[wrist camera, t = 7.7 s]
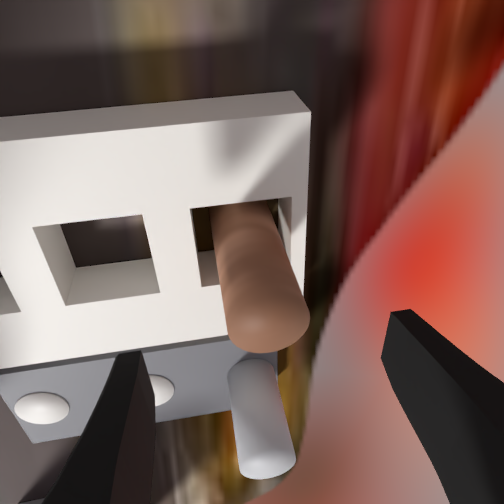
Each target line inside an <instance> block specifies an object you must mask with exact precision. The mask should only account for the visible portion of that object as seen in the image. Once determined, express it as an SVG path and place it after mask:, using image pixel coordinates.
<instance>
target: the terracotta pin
mask: <svg viewBox="0 0 504 504" xmlns="http://www.w3.org/2000/svg"><path fill="white" fill-rule="evenodd" d="M209 217H210V224H211V230H212V236H213V243H214V249H215V256H216V262H217V268H218V275H219V281H220V288H221V294H222V300H223V307H224V313H225V320H226V326H227V332H228V336H229V338H230V340H231V341H232V342H233V344H234V345H236V346H237V347H239V348H240V349H242V350H245V351H248V352H252V353H270V352H275V351H278V350H281V349H284V348H286V347H288V346H290V345H292V344H293V343H295V342H296V341H297V340H298V339H299V338H300V337H301V336H302V335H303V334H304V333H305V331H306V330H307V328H308V325H309V321H310V314H309V310H308V307H307V305H306V302H305V300H304V297H303V295H302V292H301V289H300V287H299V284H298V282H297V279H296V276H295V274H294V271H293V269H292V266H291V264H290V261H289V258H288V256H287V253H286V251H285V248H284V246H283V243H282V240H281V238H280V235H279V233H278V230H277V228H276V225H275V222H274V220H273V217H272V215H271V212H270V209H269V207H268V204H267V202H266V200H258V201H250V202H241V203H233V204H224V205H216V206H210V207H209Z"/></svg>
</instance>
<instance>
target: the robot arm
mask: <svg viewBox="0 0 504 504" xmlns="http://www.w3.org/2000/svg"><path fill="white" fill-rule="evenodd" d="M381 359H382V362H383V365H384V367H385V370H386V373H387V376H388V378H389V380H390V383H391V386H392V388H393V390H394V392H395V394H396V396H397V398H398V400H399V402H400V404H401V406H402V408H403V410H404V412H405V413H406V415H407V417H408V419H409V421H410V423H411V425H412V427H413V428H414V430H415V432H416V434H417V436H418V438H419V440H420V441H421V443H422V445H423V447H424V449H425V451H426V453H427V455H428V456H429V458H430V460H431V462H432V464H433V466H434V468H435V470H436V472H437V474H438V476H439V479H440V481H441V483H442V486H443V488H444V490H445V493H446V495H447V498H448V500H449V502H450V504H504V383H503V382H502V381H500V380H499V379H498V378H496V377H495V376H493V375H492V374H491V373H489V372H488V371H487V370H485V369H484V368H482V367H481V366H480V365H478V364H477V363H476V362H475V361H474V360H472V359H471V358H469V357H468V356H467V355H466V354H465V353H463V352H462V351H461V350H460V349H458V348H457V347H456V346H455V345H453V344H452V343H451V342H450V341H449V340H447V339H446V338H445V337H444V336H442V335H441V334H440V333H439V332H437V331H436V330H435V329H434V328H433V327H432V326H431V325H429V324H428V323H427V322H425V321H424V320H423V319H422V318H421V317H420V316H418V315H417V314H416V313H415V312H414V311H412V310H411V309H407V310H401V311H395V312H391V314H390V318H389V323H388V327H387V332H386V337H385V341H384V346H383V351H382V355H381ZM155 436H156V414H155V394H154V390H153V387H152V384H151V381H150V377H149V374H148V371H147V367H146V364H145V361H144V357H143V354H142V351H141V350H139V351H133V352H126V353H120V354H118V355H117V356H116V357H115V360H114V363H113V366H112V368H111V371H110V373H109V376H108V378H107V381H106V383H105V386H104V388H103V390H102V392H101V395H100V397H99V399H98V401H97V404H96V406H95V408H94V410H93V412H92V414H91V416H90V418H89V420H88V422H87V424H86V426H85V428H84V430H83V432H82V434H81V436H80V438H79V440H78V442H77V444H76V445H75V447H74V449H73V451H72V453H71V455H70V456H69V458H68V460H67V462H66V464H65V466H64V467H63V469H62V471H61V472H60V474H59V476H58V478H57V479H56V481H55V483H54V484H53V486H52V488H51V489H50V491H49V492H48V494H47V496H46V497H45V499H44V500H43V502H42V503H41V504H150V499H151V487H152V474H153V462H154V449H155Z"/></svg>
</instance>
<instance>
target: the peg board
mask: <svg viewBox="0 0 504 504" xmlns="http://www.w3.org/2000/svg"><path fill="white" fill-rule="evenodd" d="M310 126H311V111H310V110H309V109H308V108H307V106H306V105H305V104H304V103H303V102H302V100H301V99H300V98H299V97H298V96H297V95H296V93H295V92H294V91H283V92H272V93H261V94H250V95H239V96H228V97H217V98H206V99H195V100H184V101H173V102H162V103H151V104H140V105H129V106H118V107H107V108H96V109H85V110H74V111H63V112H52V113H41V114H30V115H19V116H8V117H0V271H1V273H2V275H3V277H1V278H0V369H4V368H10V367H17V366H24V365H30V364H37V363H44V362H50V361H57V360H64V359H70V358H77V357H84V356H90V355H97V354H104V353H110V352H117V351H124V350H130V349H137V348H144V347H150V346H157V345H164V344H170V343H177V342H184V341H190V340H197V339H203V338H210V337H217V336H223V335H228V332H227V326H226V320H225V313H224V307H223V300H222V294H221V288H220V281H219V275H218V268H217V262H216V256H215V250H210V251H203V252H198V248H197V241H196V235H195V228H194V221H193V214H192V208H199V207H207V206H216V205H224V204H233V203H241V202H250V201H258V200H267V199H275V198H278V233H279V235H280V238H281V240H282V243H283V246H284V248H285V251H286V253H287V256H288V258H289V261H290V264H291V266H292V269H293V271H294V274H295V276H296V279H297V282H298V284H299V287H300V289H301V292H302V295H303V291H304V267H305V244H306V220H307V197H308V173H309V150H310ZM139 214H142V215H143V220H144V224H145V228H146V233H147V237H148V241H149V246H150V250H151V254H152V258H148V259H141V260H133V261H125V262H117V263H109V264H102V265H94V266H86V267H78V268H76V266H75V263H74V261H73V258H72V255H71V253H70V250H69V247H68V245H67V242H66V239H65V237H64V234H63V231H62V229H61V226H60V224H63V223H71V222H80V221H88V220H97V219H105V218H114V217H122V216H131V215H139Z"/></svg>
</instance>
